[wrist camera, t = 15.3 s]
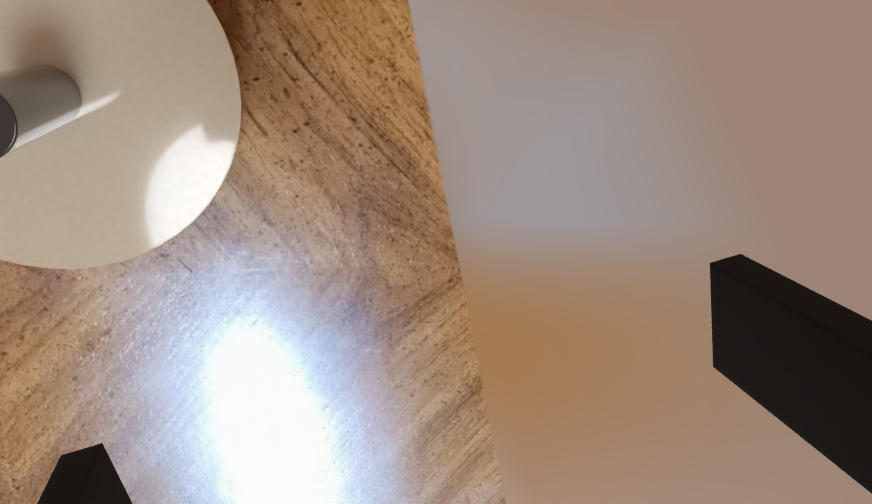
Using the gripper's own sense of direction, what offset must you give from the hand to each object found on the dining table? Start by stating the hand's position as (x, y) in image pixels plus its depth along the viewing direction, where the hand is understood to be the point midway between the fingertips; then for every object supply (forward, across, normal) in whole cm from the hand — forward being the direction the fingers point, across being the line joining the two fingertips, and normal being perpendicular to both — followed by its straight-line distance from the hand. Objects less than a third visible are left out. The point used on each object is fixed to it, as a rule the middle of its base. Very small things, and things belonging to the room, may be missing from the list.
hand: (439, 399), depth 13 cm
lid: (+22, -12, +7) cm, 26 cm away
